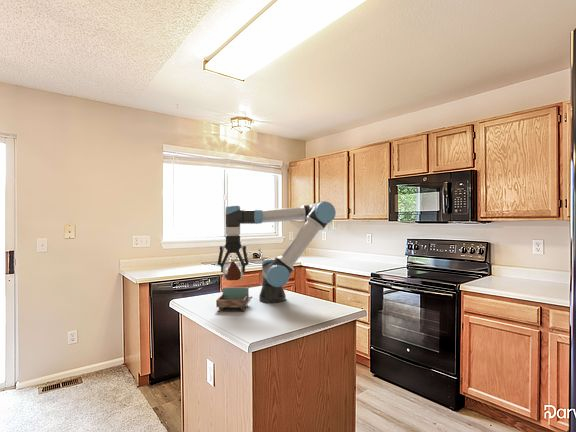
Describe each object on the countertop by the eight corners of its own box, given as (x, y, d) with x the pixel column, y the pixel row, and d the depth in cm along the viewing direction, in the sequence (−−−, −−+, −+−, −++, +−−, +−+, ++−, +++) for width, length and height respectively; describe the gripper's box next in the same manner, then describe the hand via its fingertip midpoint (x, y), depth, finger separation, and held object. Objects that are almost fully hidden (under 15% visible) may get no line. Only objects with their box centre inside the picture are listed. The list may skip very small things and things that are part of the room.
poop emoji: (239, 280, 167) (239, 262, 167) (223, 280, 167) (223, 262, 167) (242, 277, 177) (242, 260, 177) (227, 277, 177) (227, 260, 177)
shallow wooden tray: (248, 303, 178) (248, 287, 178) (244, 310, 164) (244, 293, 164) (222, 303, 178) (222, 287, 179) (216, 310, 164) (216, 293, 165)
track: (252, 297, 196) (252, 296, 196) (243, 312, 164) (243, 311, 164) (230, 297, 196) (230, 296, 196) (217, 311, 164) (217, 311, 164)
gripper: (254, 234, 176) (254, 277, 175) (214, 235, 176) (214, 277, 176) (252, 235, 168) (252, 279, 168) (210, 235, 169) (210, 279, 168)
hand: (233, 278), depth 172 cm, fingers closed on poop emoji, 8 cm apart
